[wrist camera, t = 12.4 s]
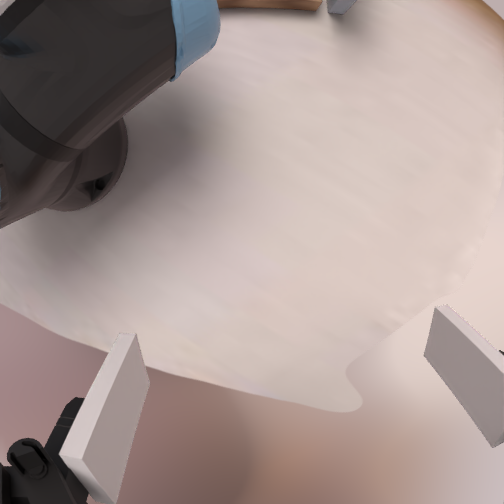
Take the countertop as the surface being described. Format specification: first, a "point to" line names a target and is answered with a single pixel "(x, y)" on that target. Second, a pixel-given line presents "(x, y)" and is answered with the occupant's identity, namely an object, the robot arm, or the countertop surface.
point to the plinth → (271, 4)
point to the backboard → (339, 6)
